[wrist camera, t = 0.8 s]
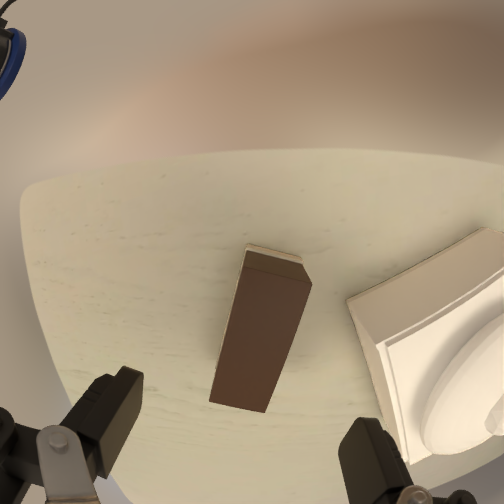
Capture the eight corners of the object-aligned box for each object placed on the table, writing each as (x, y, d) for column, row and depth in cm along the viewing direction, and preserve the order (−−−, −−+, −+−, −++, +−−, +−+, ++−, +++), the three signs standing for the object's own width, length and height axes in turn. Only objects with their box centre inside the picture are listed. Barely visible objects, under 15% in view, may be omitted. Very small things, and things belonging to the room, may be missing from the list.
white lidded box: (344, 300, 26) (424, 420, 10) (485, 225, 24) (599, 260, 8) (381, 416, 29) (425, 516, 13) (494, 348, 27) (563, 411, 11)
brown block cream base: (246, 243, 25) (242, 262, 18) (301, 257, 25) (315, 281, 19) (217, 360, 27) (206, 403, 21) (264, 371, 28) (265, 415, 21)
